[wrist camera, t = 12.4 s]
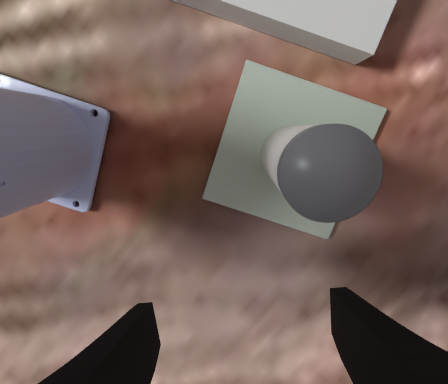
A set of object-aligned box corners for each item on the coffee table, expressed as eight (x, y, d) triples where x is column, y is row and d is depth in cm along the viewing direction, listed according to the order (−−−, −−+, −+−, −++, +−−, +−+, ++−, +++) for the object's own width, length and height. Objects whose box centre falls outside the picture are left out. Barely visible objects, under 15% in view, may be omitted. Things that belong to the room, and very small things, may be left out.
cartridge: (250, 146, 19) (261, 160, 11) (299, 114, 18) (354, 102, 10) (278, 192, 20) (311, 239, 11) (327, 163, 19) (400, 190, 11)
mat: (202, 196, 20) (202, 198, 20) (246, 61, 18) (246, 59, 18) (325, 237, 21) (327, 239, 20) (383, 109, 18) (387, 108, 18)
